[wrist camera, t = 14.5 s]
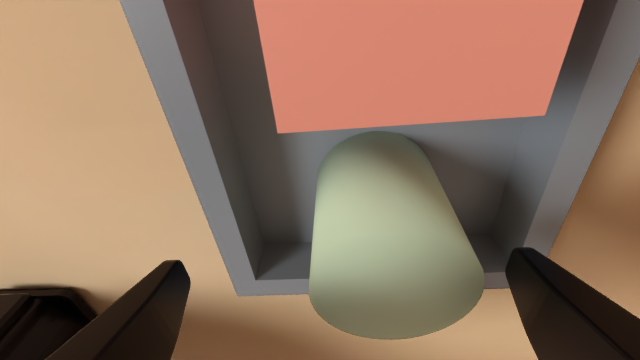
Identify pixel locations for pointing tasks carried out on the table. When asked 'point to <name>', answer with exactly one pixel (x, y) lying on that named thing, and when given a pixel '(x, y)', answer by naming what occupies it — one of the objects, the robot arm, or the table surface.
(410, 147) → the green cylinder
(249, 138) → the serving tray
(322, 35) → the red cube
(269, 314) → the table surface
